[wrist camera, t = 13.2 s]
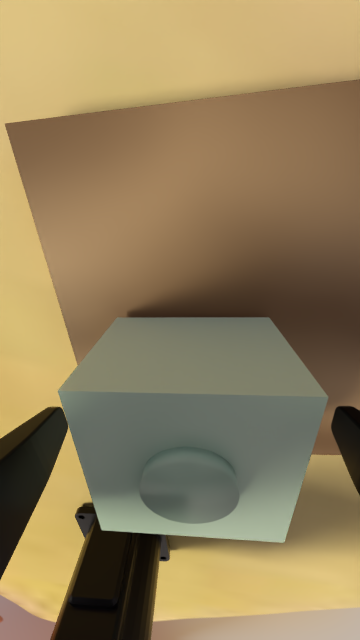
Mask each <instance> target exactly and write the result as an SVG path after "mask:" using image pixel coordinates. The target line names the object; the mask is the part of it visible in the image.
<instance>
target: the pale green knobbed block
mask: <svg viewBox="0 0 360 640" xmlns="http://www.w3.org/2000/svg"><path fill="white" fill-rule="evenodd" d="M58 393H59V396H60V400H61V403H62V406H63V409H64V412H65V415H66V419H67V422H68V425H69V428H70V431H71V434H72V438H73V441H74V444H75V447H76V450H77V453H78V457H79V460H80V463H81V466H82V469H83V472H84V476H85V479H86V482H87V485H88V488H89V491H90V495H91V498H92V501H93V504H94V507H95V510H96V514H97V517H98V520H99V523H100V526H101V530H106V531H120V532H135V533H149V534H164V535H179V536H193V537H208V538H222V539H237V540H252V541H266V542H281V543H284V542H285V539H286V535H287V532H288V529H289V525H290V522H291V519H292V516H293V512H294V509H295V506H296V502H297V499H298V496H299V493H300V489H301V486H302V483H303V479H304V476H305V473H306V470H307V466H308V463H309V460H310V456H311V453H312V450H313V447H314V443H315V440H316V437H317V433H318V430H319V427H320V424H321V420H322V417H323V414H324V410H325V407H326V404H327V401H328V396H327V394H326V393H325V392H324V390H323V389H322V388H321V386H320V385H319V383H318V382H317V381H316V379H315V378H314V377H313V375H312V374H311V373H310V371H309V370H308V369H307V367H306V366H305V365H304V363H303V362H302V361H301V359H300V358H299V357H298V355H297V354H296V353H295V351H294V350H293V349H292V347H291V346H290V345H289V343H288V342H287V341H286V339H285V338H284V337H283V335H282V334H281V333H280V331H279V330H278V329H277V327H276V326H275V325H274V323H273V322H272V320H271V319H270V318H269V317H165V318H116V319H115V321H114V322H113V323H112V324H111V326H110V327H109V328H108V329H107V331H106V332H105V333H104V334H103V335H102V337H101V338H100V339H99V340H98V342H97V343H96V344H95V345H94V347H93V348H92V349H91V350H90V352H89V353H88V354H87V355H86V356H85V358H84V359H83V360H82V361H81V363H80V364H79V365H78V366H77V368H76V369H75V370H74V371H73V373H72V374H71V375H70V376H69V377H68V379H67V380H66V381H65V382H64V384H63V385H62V386H61V387H60V389H59V390H58Z"/></svg>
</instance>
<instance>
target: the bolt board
mask: <svg viewBox="0 0 360 640" xmlns="http://www.w3.org/2000/svg"><path fill="white" fill-rule="evenodd" d="M5 126H6V130H7V133H8V136H9V140H10V143H11V146H12V149H13V153H14V156H15V159H16V163H17V166H18V169H19V173H20V176H21V179H22V183H23V186H24V189H25V192H26V196H27V199H28V202H29V206H30V209H31V212H32V216H33V219H34V222H35V226H36V229H37V232H38V235H39V239H40V242H41V245H42V249H43V252H44V255H45V259H46V262H47V265H48V268H49V272H50V275H51V278H52V282H53V285H54V288H55V292H56V295H57V298H58V302H59V305H60V308H61V311H62V315H63V318H64V321H65V325H66V328H67V331H68V335H69V338H70V341H71V345H72V348H73V351H74V354H75V358H76V361H77V364H78V365H79V364H80V363H81V361H82V360H83V359H84V358H85V356H86V355H87V354H88V353H89V352H90V350H91V349H92V348H93V347H94V345H95V344H96V343H97V342H98V340H99V339H100V338H101V337H102V335H103V334H104V333H105V332H106V331H107V329H108V328H109V327H110V326H111V324H112V323H113V322H114V321H115V319H116V318H165V317H269V318H270V319H271V320H272V322H273V323H274V325H275V326H276V327H277V329H278V330H279V331H280V333H281V334H282V335H283V337H284V338H285V339H286V341H287V342H288V343H289V345H290V346H291V347H292V349H293V350H294V351H295V353H296V354H297V355H298V357H299V358H300V359H301V361H302V362H303V363H304V365H305V366H306V367H307V369H308V370H309V371H310V373H311V374H312V375H313V377H314V378H315V379H316V381H317V382H318V383H319V385H320V386H321V388H322V389H323V390H324V392H325V393H326V394H327V396H328V401H327V404H326V407H325V410H324V414H323V417H322V420H321V424H320V427H319V430H318V433H317V437H316V440H315V443H314V447H313V450H312V453H311V454H316V455H341V453H340V450H339V448H338V445H337V443H336V441H335V438H334V436H333V434H332V430H331V423H332V419H333V416H334V412H335V409H336V407H338V406H352V407H355V408H356V409H358V410H360V80H352V81H344V82H336V83H328V84H320V85H312V86H304V87H296V88H288V89H280V90H272V91H264V92H256V93H248V94H240V95H232V96H223V97H215V98H207V99H199V100H191V101H183V102H175V103H167V104H159V105H151V106H143V107H135V108H127V109H119V110H111V111H103V112H95V113H87V114H78V115H70V116H62V117H54V118H46V119H38V120H30V121H22V122H14V123H6V124H5Z"/></svg>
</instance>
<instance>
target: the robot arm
mask: <svg viewBox="0 0 360 640" xmlns="http://www.w3.org/2000/svg"><path fill="white" fill-rule="evenodd" d="M67 430H68V423H67V420H66V417H65V415H64V412H63V409H62V408H61V407H48V408H46V409H45V410H43V411H42V412H40V413H38V414H37V415H35V416H34V417H32V418H31V419H29V420H28V421H26V422H25V423H23V424H22V425H20V426H19V427H17V428H16V429H14V430H13V431H11V432H10V433H8V434H7V435H5V436H4V437H2V438H1V439H0V579H1V577H2V575H3V573H4V571H5V569H6V567H7V565H8V563H9V561H10V559H11V557H12V555H13V553H14V550H15V548H16V546H17V544H18V542H19V540H20V538H21V536H22V534H23V532H24V530H25V528H26V526H27V524H28V521H29V519H30V517H31V515H32V513H33V511H34V509H35V507H36V505H37V503H38V501H39V499H40V497H41V494H42V492H43V490H44V488H45V486H46V484H47V482H48V480H49V477H50V475H51V472H52V470H53V467H54V465H55V462H56V459H57V457H58V454H59V452H60V449H61V446H62V444H63V441H64V438H65V436H66V433H67ZM331 430H332V434H333V436H334V438H335V441H336V443H337V445H338V448H339V450H340V453H341V455H342V457H343V460H344V462H345V464H346V467H347V469H348V471H349V474H350V476H351V478H352V481H353V483H354V485H355V487H356V489H357V491H358V493H359V495H360V410H358V409H356V408H355V407H352V406H338V407H336V409H335V412H334V416H333V419H332V423H331ZM75 518H76V520H77V522H78V524H79V526H80V529H81V531H82V533H83V535H84V537H85V541H84V544H83V547H82V550H81V553H80V555H79V558H78V561H77V564H76V567H75V570H74V573H73V576H72V578H71V581H70V584H69V587H68V590H67V593H66V596H65V599H64V601H63V604H62V607H61V610H60V613H59V616H58V619H57V622H56V625H55V627H54V630H53V633H52V636H51V639H50V640H151V634H152V625H153V615H154V606H155V597H156V588H157V578H158V569H159V561H168V560H169V559H170V549H169V543H168V537H167V535H164V534H149V533H135V532H120V531H106V530H101V526H100V523H99V520H98V517H97V514H96V510H95V507H79V508H78V509H77V512H76V514H75Z"/></svg>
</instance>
